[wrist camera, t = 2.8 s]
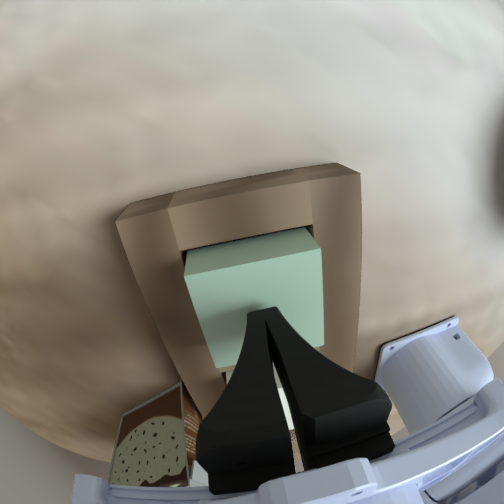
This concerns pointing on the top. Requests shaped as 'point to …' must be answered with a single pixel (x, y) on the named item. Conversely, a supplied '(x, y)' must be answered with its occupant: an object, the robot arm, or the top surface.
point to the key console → (240, 226)
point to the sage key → (256, 288)
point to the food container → (159, 443)
